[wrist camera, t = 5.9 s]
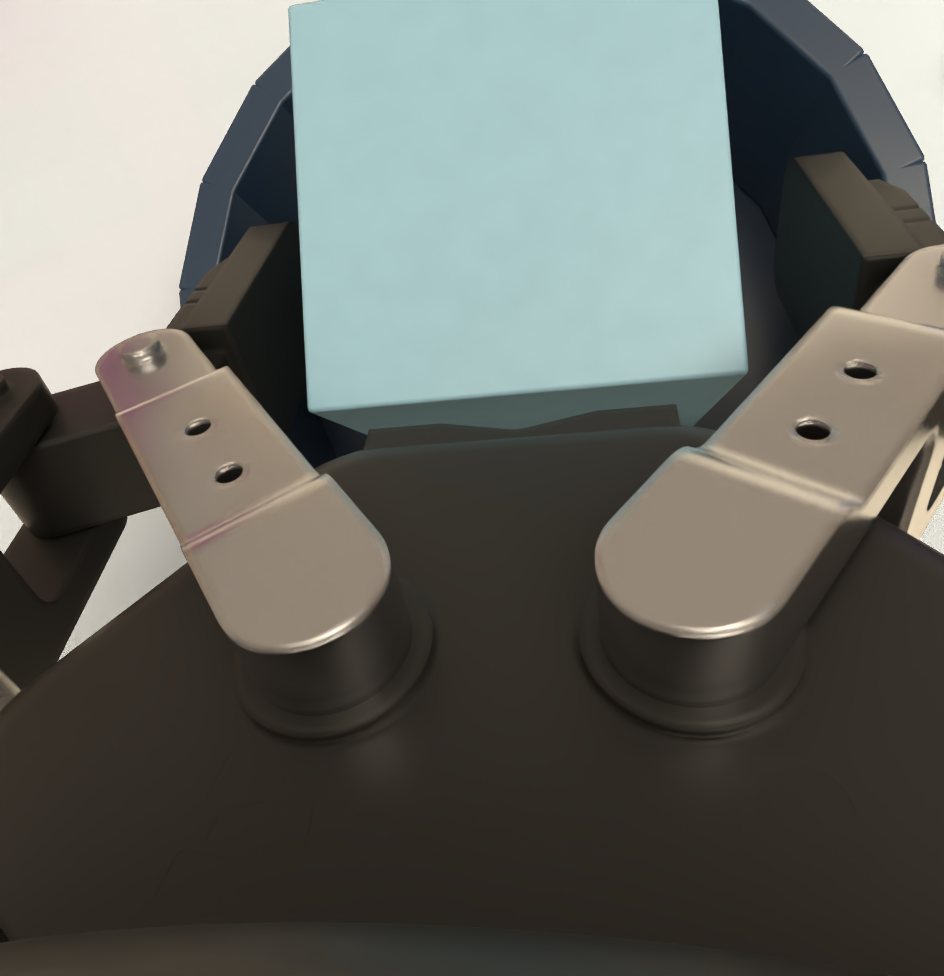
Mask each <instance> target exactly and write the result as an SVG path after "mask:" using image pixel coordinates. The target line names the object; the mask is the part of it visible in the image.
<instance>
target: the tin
mask: <svg viewBox="0 0 944 976" xmlns="http://www.w3.org/2000/svg"><path fill="white" fill-rule="evenodd" d="M718 6H719V18H720V30H721V42H722V55H723V67H724V79H725V91H726V103H727V115H728V127H729V139H730V151H731V164H732V176H733V188H734V200H735V212H736V224H737V236H738V248H739V260H740V273H741V285H742V297H743V309H744V321H745V333H746V345H747V357H748V372H747V374H746V375H745V376H744V377H743V378H742V379H741V380H740V381H739V382H738V383H737V384H736V385H735V386H734V387H733V388H731V389H730V390H729V391H728V392H727V393H726V394H725V395H724V396H723V397H722V398H721V399H720V400H719V401H718V402H717V403H716V404H715V405H714V406H713V407H712V408H711V409H710V410H709V411H708V412H707V413H706V414H705V415H704V416H703V417H702V418H701V419H700V420H699V421H698V422H697V423H696V424H695V425H694V426H695V427H701V428H707V429H711V430H715V431H717V430H718V429H719V427H720V426H721V425H722V424H723V423H724V422H725V421H726V420H727V419H728V418H729V417H730V415H731V414H732V413H733V412H734V411H735V410H736V409H737V408H738V407H739V406H740V405H741V403H742V402H743V401H744V400H745V399H746V398H747V397H748V396H749V395H750V394H751V393H752V391H753V390H754V389H755V388H756V387H757V386H758V385H759V384H760V383H761V382H762V381H763V379H764V378H765V377H766V376H767V375H768V374H769V373H770V372H771V371H772V370H773V369H774V367H775V366H776V365H777V364H778V363H779V362H780V361H781V360H782V359H783V358H784V357H785V355H786V354H787V353H788V352H789V351H790V350H791V349H792V348H793V347H794V346H795V345H796V343H797V342H798V341H799V338H798V336H797V334H796V331H795V329H794V327H793V325H792V323H791V321H790V319H789V317H788V315H787V313H786V310H785V308H784V306H783V304H782V302H781V300H780V298H779V296H778V293H777V290H776V284H775V275H774V260H775V250H776V241H777V233H778V224H779V215H780V207H781V198H782V190H783V181H784V174H785V170H786V166H787V163H788V161H789V160H790V159H791V158H793V157H801V156H808V155H816V154H824V153H832V152H840V151H842V152H844V153H845V154H846V155H847V156H848V157H849V159H850V160H851V161H852V162H853V163H854V164H855V166H856V167H857V168H858V169H859V170H860V171H861V173H862V174H863V175H864V176H865V177H866V178H867V180H875V179H880V180H882V181H884V182H887V183H889V184H892V185H894V186H896V187H899V188H901V189H903V190H905V191H906V192H907V193H908V194H909V195H910V196H911V197H912V198H913V199H914V200H915V201H916V202H917V203H918V204H919V208H922V209H923V210H924V211H925V212H926V213H927V214H928V215H929V216H930V221H932V220H933V221H934V222H935V223H936V221H935V215H934V208H933V202H932V196H931V189H930V183H929V176H928V170H927V164H926V163H925V162H923V161H924V155H923V153H922V151H921V149H920V148H919V146H918V144H917V142H916V140H915V139H914V137H913V135H912V133H911V131H910V130H909V128H908V126H907V124H906V122H905V121H904V119H903V117H902V115H901V113H900V111H899V110H898V108H897V106H896V104H895V102H894V101H893V99H892V97H891V95H890V93H889V92H888V90H887V88H886V86H885V84H884V83H883V81H882V79H881V77H880V75H879V74H878V72H877V70H876V68H875V66H874V64H873V63H872V61H871V59H870V57H869V55H867V54H863V53H864V51H863V49H862V48H861V47H860V46H859V45H858V44H857V43H856V42H855V41H853V40H852V39H851V38H850V37H849V36H848V35H847V34H845V33H844V32H843V31H842V30H841V29H840V28H839V27H837V26H836V25H835V24H834V23H833V22H832V21H831V20H829V19H828V18H827V17H826V16H825V15H824V14H823V13H821V12H820V11H819V10H818V9H817V8H816V7H815V6H813V5H812V4H811V3H810V2H809V1H808V0H718ZM255 84H256V85H252V87H251V89H250V91H249V92H248V94H247V96H246V98H245V100H244V102H243V104H242V106H241V107H240V109H239V111H238V113H237V115H236V117H235V119H234V121H233V122H232V124H231V126H230V128H229V130H228V132H227V134H226V135H225V137H224V139H223V141H222V143H221V145H220V147H219V149H218V150H217V152H216V154H215V156H214V158H213V160H212V162H211V164H210V165H209V167H208V169H207V171H206V173H205V175H204V177H203V179H202V181H203V183H201V184H200V188H199V193H198V198H197V203H196V208H195V212H194V217H193V222H192V227H191V232H190V236H189V241H188V246H187V251H186V256H185V261H184V265H183V270H182V275H181V280H180V285H179V288H180V289H181V290H180V293H179V295H180V306H181V307H182V306H183V304H186V300H187V299H188V297H189V296H190V294H191V293H192V292H193V291H195V288H196V286H197V285H198V283H199V282H200V281H201V279H202V278H203V276H204V275H205V274H206V273H207V272H208V271H209V270H211V269H212V268H214V267H215V266H216V265H218V264H219V263H221V262H222V261H223V260H225V259H226V258H228V257H229V256H230V255H231V253H232V252H233V250H234V249H235V247H236V246H237V244H238V243H239V242H240V240H241V239H242V237H243V236H244V234H245V233H246V231H247V230H248V229H249V228H250V227H252V226H258V225H266V224H274V223H282V222H289V221H292V222H294V223H295V224H296V225H297V226H298V227H299V219H298V199H297V178H296V157H295V136H294V116H293V95H292V74H291V53H290V46H289V47H288V48H287V49H286V50H285V51H284V52H283V53H282V54H281V55H280V57H279V58H278V59H277V60H276V61H275V62H274V63H273V64H272V65H271V66H270V67H269V68H268V69H267V70H266V71H265V72H264V73H263V74H262V75H261V76H260V77H259V78H258V79H257V80H256V82H255ZM287 437H288V439H289V440H290V441H291V442H292V443H293V444H294V446H295V447H296V448H297V449H298V450H299V452H300V453H301V454H302V455H303V456H304V458H305V459H306V460H307V461H308V462H309V464H310V465H311V466H312V467H313V468H314V469H315V468H317V467H318V466H320V465H322V464H324V463H327V462H329V461H331V460H334V459H336V458H338V457H341V456H344V455H347V454H350V453H353V452H357V451H360V450H363V449H364V446H365V442H366V439H367V435H366V434H363V433H361V432H358V431H356V430H353V429H351V428H348V427H346V426H343V425H341V424H338V423H336V422H333V421H331V420H328V419H326V418H323V417H321V416H318V415H316V414H313V413H311V412H309V410H308V406H307V388H306V390H305V393H304V395H303V398H302V400H301V403H300V405H299V408H298V410H297V413H296V415H295V418H294V420H293V422H292V425H291V427H290V430H289V432H288V435H287Z"/></svg>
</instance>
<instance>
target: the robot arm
mask: <svg viewBox="0 0 944 976" xmlns="http://www.w3.org/2000/svg"><path fill="white" fill-rule="evenodd" d="M774 275H775V284H776V290H777V293H778V296H779V298H780V300H781V302H782V304H783V306H784V308H785V310H786V313H787V315H788V317H789V319H790V321H791V323H792V325H793V327H794V329H795V331H796V334H797V336H798V338H799V341H798V342H797V343H796V345H795V346H794V347H793V348H792V349H791V350H790V351H789V352H788V353H787V354H786V355H785V357H784V358H783V359H782V360H781V361H780V362H779V363H778V364H777V365H776V366H775V367H774V369H773V370H772V371H771V372H770V373H769V374H768V375H767V376H766V377H765V378H764V379H763V381H762V382H761V383H760V384H759V385H758V386H757V387H756V388H755V389H754V390H753V391H752V393H751V394H750V395H749V396H748V397H747V398H746V399H745V400H744V401H743V402H742V403H741V405H740V406H739V407H738V408H737V409H736V410H735V411H734V412H733V413H732V414H731V415H730V417H729V418H728V419H727V420H726V421H725V422H724V423H723V424H722V425H721V426H720V427H719V429H718V430H717V431H715V430H711V429H707V428H701V427H695V426H688V425H681V424H680V420H679V415H678V411H677V406H676V404H671V405H659V406H646V407H634V408H622V409H610V410H598V411H593V412H589V413H585V414H581V415H577V416H573V417H569V418H564V419H560V420H556V421H552V422H548V423H544V424H540V425H536V426H532V427H527V428H523V429H500V428H488V427H477V426H465V425H453V424H442V423H440V424H428V425H416V426H404V427H392V428H379V429H369V431H368V435H367V439H366V442H365V446H364V449H363V450H360V451H357V452H353V453H350V454H347V455H344V456H341V457H338V458H336V459H334V460H331V461H329V462H327V463H324V464H322V465H320V466H318V467H317V468H315V469H314V468H313V467H312V466H311V465H310V464H309V462H308V461H307V460H306V459H305V458H304V456H303V455H302V454H301V453H300V452H299V450H298V449H297V448H296V447H295V446H294V444H293V443H292V442H291V441H290V440H289V439H288V437H287V435H288V432H289V430H290V427H291V425H292V422H293V420H294V418H295V415H296V413H297V410H298V408H299V405H300V403H301V400H302V398H303V395H304V393H305V390H306V388H307V385H306V364H305V344H304V323H303V302H302V281H301V261H300V240H299V227H298V226H297V225H296V224H295V223H294V222H292V221H289V222H282V223H274V224H266V225H258V226H252V227H250V228H249V229H248V230H247V231H246V233H245V234H244V236H243V237H242V239H241V240H240V242H239V243H238V244H237V246H236V247H235V249H234V250H233V252H232V253H231V255H230V256H229V257H228V258H226V259H225V260H223V261H222V262H221V263H219V264H218V265H216V266H215V267H214V268H212V269H211V270H209V271H208V272H207V273H206V274H205V275H204V276H203V278H202V279H201V281H200V282H199V283H198V285H197V286H196V288H195V291H193V292H192V293H191V294H190V296H189V297H188V299H187V300H186V304H183V306H182V307H181V308H180V310H179V311H178V313H177V314H176V315H175V317H174V318H173V320H172V321H171V322H170V324H169V325H168V327H167V328H166V329H160V330H153V331H149V332H145V333H142V334H139V335H136V336H133V337H131V338H128V339H126V340H124V341H122V342H120V343H119V344H117V345H115V346H114V347H112V348H111V349H109V350H108V351H107V352H106V353H105V354H104V355H103V356H102V357H101V358H100V359H99V360H98V362H97V364H96V366H95V372H96V375H97V377H98V379H99V380H100V381H98V382H95V383H91V384H88V385H84V386H80V387H77V388H73V389H69V390H66V391H62V392H59V393H55V394H51V393H50V391H49V389H48V388H47V386H46V385H45V383H44V382H43V380H42V378H41V377H40V375H39V374H38V372H36V371H35V370H33V369H30V368H11V369H5V370H1V371H0V494H1V495H2V496H3V497H4V499H5V500H6V501H7V503H8V504H9V505H10V506H11V508H12V509H13V510H14V512H15V513H16V514H17V516H18V517H19V518H20V519H21V521H22V522H23V523H24V524H23V525H22V527H21V529H20V530H19V532H18V533H17V535H16V536H15V538H14V539H13V541H12V542H11V544H10V546H9V547H8V549H7V550H6V552H5V553H4V555H3V553H2V552H1V551H0V976H944V555H943V554H942V553H940V552H938V551H937V550H935V549H933V548H932V547H930V546H928V545H927V544H925V543H923V542H921V541H920V540H919V539H920V538H921V536H922V534H923V532H924V531H925V529H926V527H927V526H928V524H929V522H930V521H931V519H932V517H933V516H934V514H935V512H936V510H937V509H938V507H939V505H940V504H941V502H942V500H943V499H944V231H943V230H942V229H941V228H940V227H939V226H938V225H937V224H936V223H935V222H934V221H933V220H932V221H930V216H929V215H928V214H927V213H926V212H925V211H924V210H923V209H922V208H919V204H918V203H917V202H916V201H915V200H914V199H913V198H912V197H911V196H910V195H909V194H908V193H907V192H906V191H905V190H903V189H901V188H899V187H896V186H894V185H892V184H889V183H887V182H884V181H882V180H880V179H875V180H867V178H866V177H865V176H864V175H863V174H862V173H861V171H860V170H859V169H858V168H857V167H856V166H855V164H854V163H853V162H852V161H851V160H850V159H849V157H848V156H847V155H846V154H845V153H844V152H842V151H840V152H832V153H824V154H816V155H808V156H801V157H793V158H791V159H790V160H789V161H788V163H787V166H786V170H785V174H784V181H783V190H782V198H781V207H780V215H779V224H778V233H777V241H776V250H775V260H774ZM160 506H161V507H162V509H163V511H164V513H165V515H166V517H167V519H168V521H169V522H170V524H171V526H172V528H173V530H174V532H175V534H176V536H177V538H178V540H179V542H180V544H181V546H180V547H181V549H182V552H183V554H184V556H185V558H186V560H187V563H186V564H185V565H183V566H182V567H181V568H179V569H178V570H177V571H176V572H174V573H173V574H172V575H170V576H169V577H168V578H166V579H165V580H164V581H162V582H161V583H160V584H159V585H157V586H156V587H155V588H153V589H152V590H151V591H149V592H148V593H147V594H145V595H144V596H143V597H142V598H140V599H139V600H138V601H136V602H135V603H134V604H132V605H131V606H130V607H128V608H127V609H126V610H125V611H123V612H122V613H121V614H119V615H118V616H117V617H115V618H114V619H113V620H111V621H110V622H109V623H108V624H106V625H105V626H104V627H102V628H101V629H100V630H98V631H97V632H96V633H94V634H93V635H92V636H91V637H89V638H88V639H87V640H85V641H84V642H83V643H81V644H80V645H79V646H77V647H76V648H75V649H74V650H72V651H71V652H70V653H68V654H67V655H66V656H64V657H63V658H62V659H60V660H59V661H58V659H59V657H60V655H61V653H62V651H63V649H64V647H65V645H66V643H67V641H68V639H69V637H70V635H71V633H72V631H73V629H74V627H75V625H76V623H77V621H78V619H79V617H80V615H81V613H82V612H83V610H84V608H85V606H86V604H87V602H88V600H89V598H90V596H91V594H92V592H93V590H94V588H95V586H96V584H97V582H98V580H99V578H100V576H101V574H102V572H103V570H104V568H105V566H106V564H107V562H108V560H109V558H110V556H111V554H112V552H113V550H114V548H115V546H116V544H117V542H118V540H119V538H120V536H121V534H122V532H123V530H124V528H125V525H126V523H127V516H130V515H133V514H136V513H140V512H143V511H147V510H150V509H153V508H157V507H160ZM57 661H58V662H57Z"/></svg>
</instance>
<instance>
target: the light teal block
mask: <svg viewBox="0 0 944 976" xmlns="http://www.w3.org/2000/svg"><path fill="white" fill-rule="evenodd" d="M288 11H289V33H290V53H291V74H292V95H293V116H294V136H295V157H296V178H297V199H298V219H299V240H300V261H301V281H302V302H303V323H304V344H305V364H306V385H307V406H308V410H309V412H311V413H313V414H316V415H318V416H321V417H323V418H326V419H328V420H331V421H333V422H336V423H338V424H341V425H343V426H346V427H348V428H351V429H353V430H356V431H358V432H361V433H363V434H366V435H368V431H369V429H379V428H392V427H404V426H416V425H428V424H440V423H442V424H453V425H465V426H477V427H488V428H500V429H523V428H527V427H532V426H536V425H540V424H544V423H548V422H552V421H556V420H560V419H564V418H569V417H573V416H577V415H581V414H585V413H589V412H593V411H598V410H610V409H622V408H634V407H646V406H659V405H671V404H676V406H677V411H678V415H679V420H680V424H681V425H688V426H694V425H695V424H696V423H697V422H698V421H699V420H700V419H701V418H702V417H703V416H704V415H705V414H706V413H707V412H708V411H709V410H710V409H711V408H712V407H713V406H714V405H715V404H716V403H717V402H718V401H719V400H720V399H721V398H722V397H723V396H724V395H725V394H726V393H727V392H728V391H729V390H730V389H731V388H733V387H734V386H735V385H736V384H737V383H738V382H739V381H740V380H741V379H742V378H743V377H744V376H745V375H746V374H747V372H748V357H747V345H746V333H745V321H744V309H743V297H742V285H741V273H740V260H739V248H738V236H737V224H736V212H735V200H734V188H733V176H732V164H731V151H730V139H729V127H728V115H727V103H726V91H725V79H724V67H723V55H722V42H721V30H720V18H719V6H718V0H320V1H314V2H309V3H303V4H297V5H292V6H290V7H289V9H288Z"/></svg>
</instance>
